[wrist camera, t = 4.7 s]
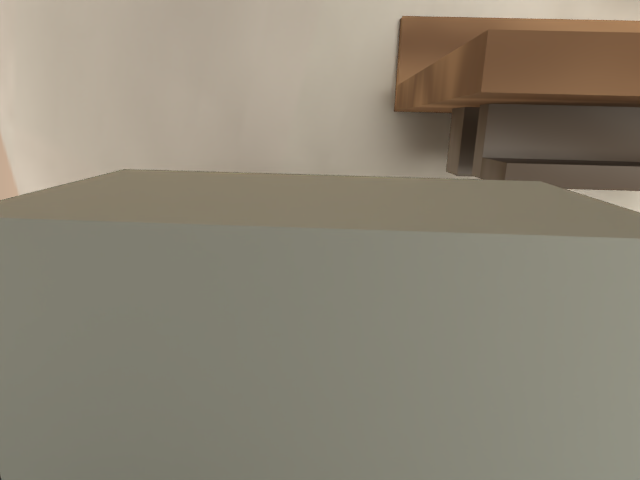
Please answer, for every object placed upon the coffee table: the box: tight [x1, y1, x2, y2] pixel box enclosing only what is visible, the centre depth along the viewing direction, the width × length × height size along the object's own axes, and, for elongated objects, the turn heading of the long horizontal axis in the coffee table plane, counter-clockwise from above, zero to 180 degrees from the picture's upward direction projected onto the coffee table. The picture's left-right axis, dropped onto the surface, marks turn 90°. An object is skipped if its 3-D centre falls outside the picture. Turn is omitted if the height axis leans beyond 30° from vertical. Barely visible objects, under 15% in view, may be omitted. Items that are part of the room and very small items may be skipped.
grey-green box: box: [0, 169, 640, 480], centre depth 9 cm, size 9×6×9 cm
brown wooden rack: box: [394, 16, 640, 191], centre depth 18 cm, size 8×18×16 cm, turn 89°
